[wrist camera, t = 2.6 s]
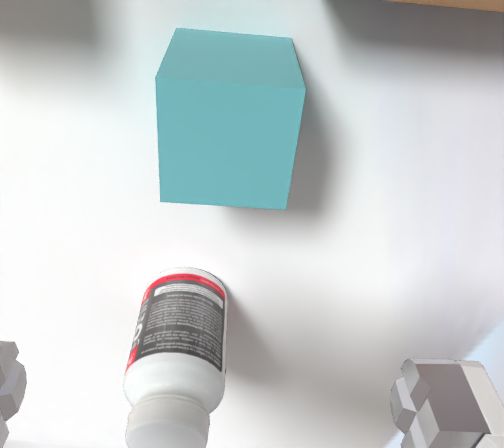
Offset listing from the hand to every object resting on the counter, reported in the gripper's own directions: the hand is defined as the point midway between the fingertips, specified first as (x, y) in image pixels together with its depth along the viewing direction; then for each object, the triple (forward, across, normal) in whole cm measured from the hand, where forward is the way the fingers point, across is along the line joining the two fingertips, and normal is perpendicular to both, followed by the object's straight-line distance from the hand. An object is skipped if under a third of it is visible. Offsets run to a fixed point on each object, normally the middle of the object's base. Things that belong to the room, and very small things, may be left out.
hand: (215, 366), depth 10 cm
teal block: (+15, 0, 0) cm, 15 cm away
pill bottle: (+15, +2, +14) cm, 21 cm away
